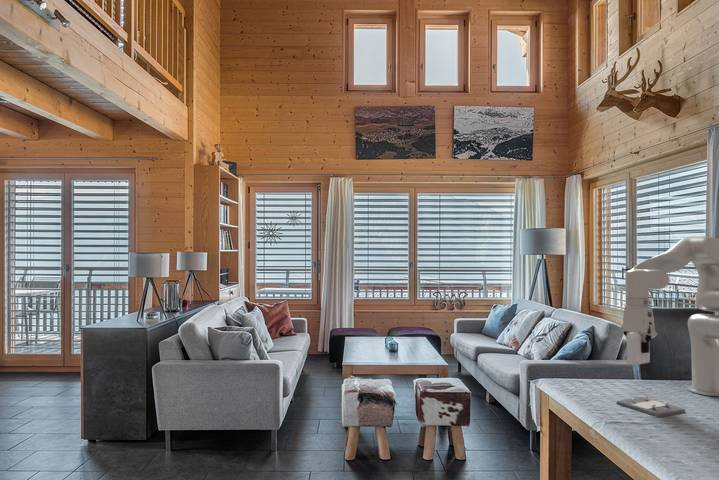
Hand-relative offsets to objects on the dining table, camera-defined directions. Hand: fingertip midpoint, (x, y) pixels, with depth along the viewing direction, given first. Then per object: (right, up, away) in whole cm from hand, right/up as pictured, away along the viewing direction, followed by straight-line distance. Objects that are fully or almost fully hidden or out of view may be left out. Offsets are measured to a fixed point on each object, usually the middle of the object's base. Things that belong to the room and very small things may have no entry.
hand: (638, 350), depth 178 cm
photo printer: (0, -5, 0) cm, 5 cm away
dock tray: (0, -19, -6) cm, 20 cm away
